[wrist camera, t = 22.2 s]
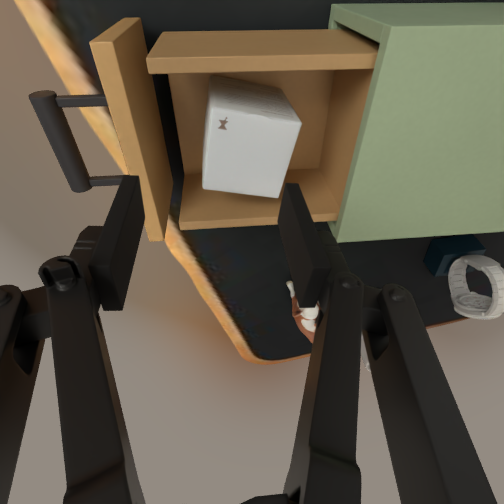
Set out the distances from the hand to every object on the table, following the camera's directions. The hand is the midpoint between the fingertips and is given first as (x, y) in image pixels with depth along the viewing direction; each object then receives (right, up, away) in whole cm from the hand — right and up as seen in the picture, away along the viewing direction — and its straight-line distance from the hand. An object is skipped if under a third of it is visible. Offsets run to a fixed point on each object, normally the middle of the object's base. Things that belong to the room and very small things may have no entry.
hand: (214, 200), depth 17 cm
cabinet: (+17, +11, +12) cm, 24 cm away
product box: (+1, +9, +9) cm, 13 cm away
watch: (+30, -2, +27) cm, 40 cm away
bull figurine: (+10, -9, +30) cm, 33 cm away
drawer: (-2, +9, +10) cm, 14 cm away
